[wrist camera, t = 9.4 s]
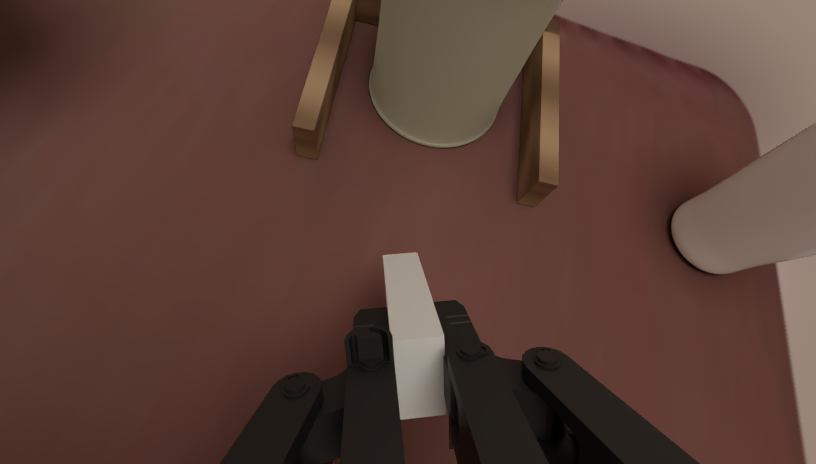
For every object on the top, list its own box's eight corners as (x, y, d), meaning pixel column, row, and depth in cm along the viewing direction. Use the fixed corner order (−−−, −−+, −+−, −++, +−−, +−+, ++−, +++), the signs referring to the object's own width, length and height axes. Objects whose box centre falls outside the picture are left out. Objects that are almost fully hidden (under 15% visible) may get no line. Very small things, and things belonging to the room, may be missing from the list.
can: (462, 31, 30) (535, -173, 19) (519, 128, 28) (641, -39, 17) (349, 55, 27) (356, -166, 16) (401, 165, 25) (451, -6, 14)
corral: (534, 206, 26) (558, 185, 23) (297, 155, 24) (291, 125, 21) (539, 55, 30) (559, 22, 28) (342, 4, 29) (343, -36, 26)
